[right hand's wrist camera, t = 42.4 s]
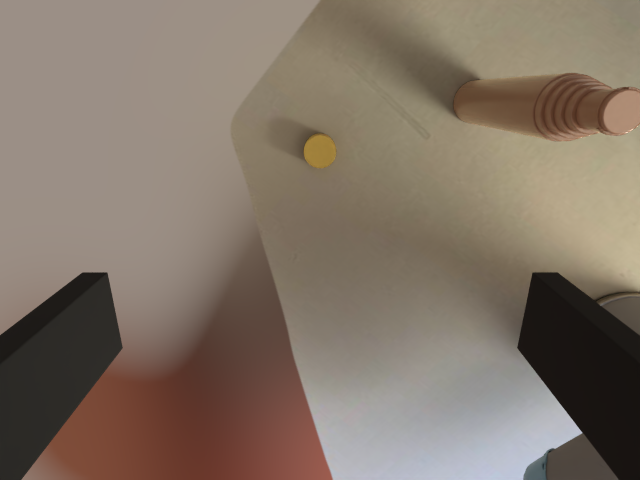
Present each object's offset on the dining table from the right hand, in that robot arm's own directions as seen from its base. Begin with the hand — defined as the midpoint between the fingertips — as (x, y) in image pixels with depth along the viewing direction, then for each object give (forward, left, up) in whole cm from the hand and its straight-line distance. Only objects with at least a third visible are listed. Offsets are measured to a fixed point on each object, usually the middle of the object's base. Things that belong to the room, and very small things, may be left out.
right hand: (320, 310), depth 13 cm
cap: (0, 0, -35) cm, 35 cm away
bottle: (-18, 0, -37) cm, 41 cm away
